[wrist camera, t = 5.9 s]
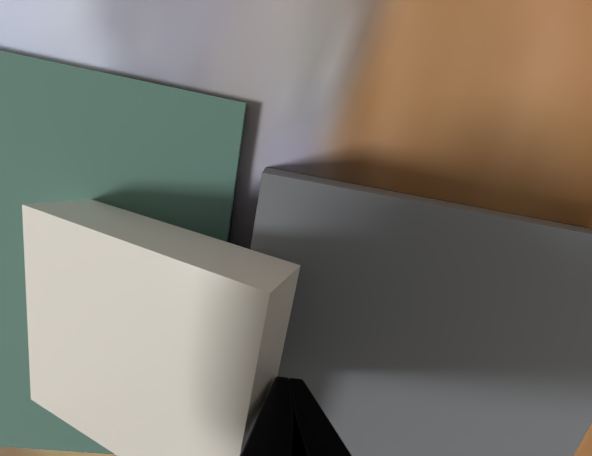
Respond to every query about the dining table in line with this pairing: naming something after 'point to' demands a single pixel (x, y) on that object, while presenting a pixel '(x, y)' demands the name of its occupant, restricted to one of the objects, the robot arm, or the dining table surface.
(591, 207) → the dining table surface
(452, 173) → the dining table surface
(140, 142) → the mat
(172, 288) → the tile
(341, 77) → the dining table surface
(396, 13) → the dining table surface
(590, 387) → the plate
